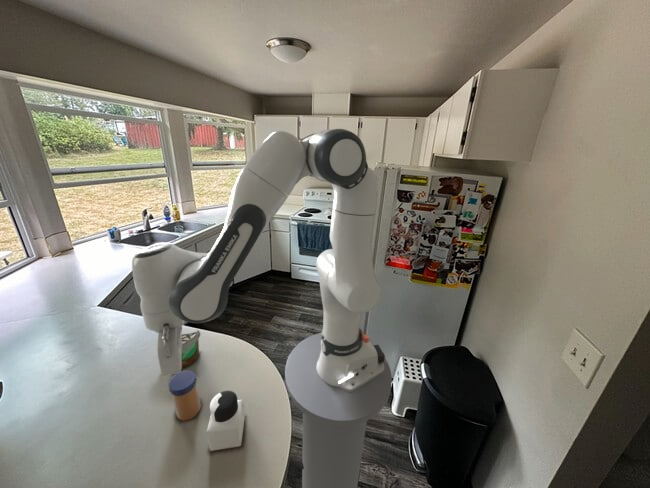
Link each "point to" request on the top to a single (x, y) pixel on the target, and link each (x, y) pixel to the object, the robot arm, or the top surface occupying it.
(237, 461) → the top surface
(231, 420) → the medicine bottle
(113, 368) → the top surface
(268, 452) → the top surface
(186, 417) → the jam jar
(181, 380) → the jar lid
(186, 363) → the food container
